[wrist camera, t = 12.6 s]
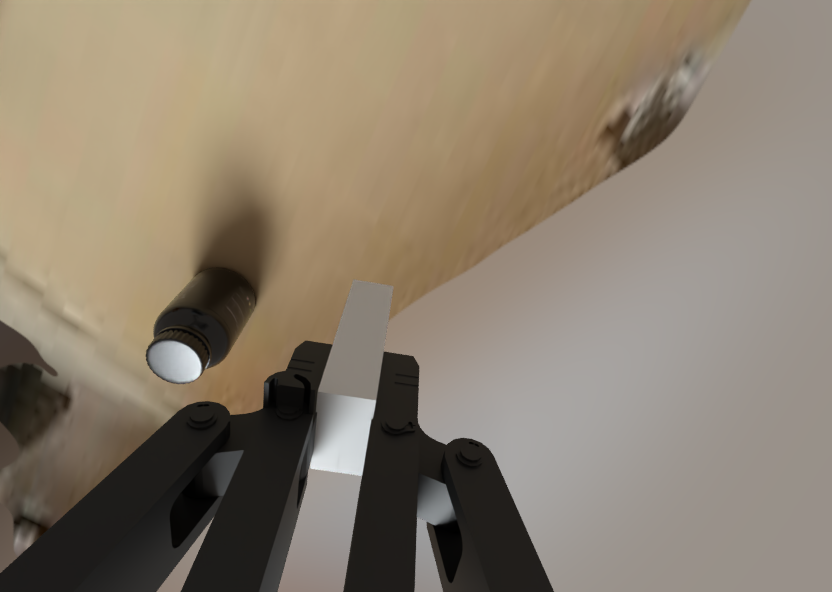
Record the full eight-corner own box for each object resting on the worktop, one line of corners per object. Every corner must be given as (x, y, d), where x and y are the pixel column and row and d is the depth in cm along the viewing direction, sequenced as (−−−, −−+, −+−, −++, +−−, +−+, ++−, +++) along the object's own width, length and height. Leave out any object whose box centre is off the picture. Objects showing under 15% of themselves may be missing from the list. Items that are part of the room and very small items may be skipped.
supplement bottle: (201, 325, 54) (145, 396, 43) (183, 267, 51) (118, 328, 40) (264, 321, 54) (223, 392, 43) (249, 263, 51) (201, 324, 40)
